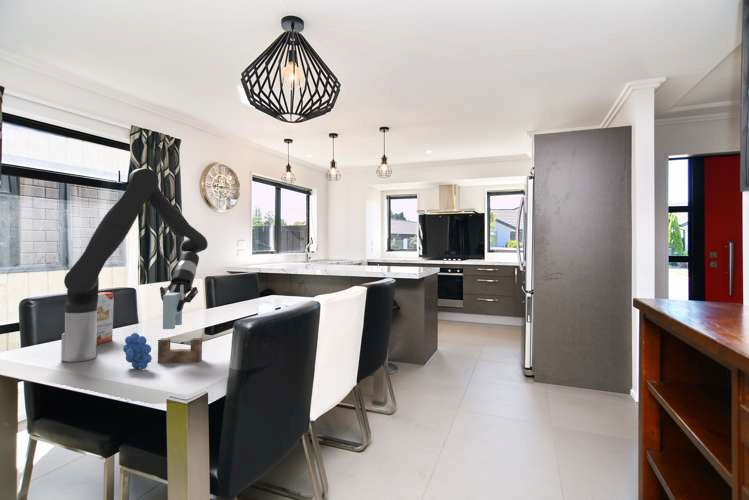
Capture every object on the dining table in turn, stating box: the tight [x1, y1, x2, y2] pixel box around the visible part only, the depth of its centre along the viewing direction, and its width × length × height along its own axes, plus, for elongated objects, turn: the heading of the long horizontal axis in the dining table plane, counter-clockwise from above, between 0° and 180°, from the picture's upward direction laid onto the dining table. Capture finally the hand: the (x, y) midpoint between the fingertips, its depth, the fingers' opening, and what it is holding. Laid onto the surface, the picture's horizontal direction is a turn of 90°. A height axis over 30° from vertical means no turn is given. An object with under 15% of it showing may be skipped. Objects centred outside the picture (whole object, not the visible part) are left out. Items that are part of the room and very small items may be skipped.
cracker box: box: [96, 291, 115, 345], centre depth 160 cm, size 14×6×21 cm, turn 168°
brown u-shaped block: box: [157, 337, 203, 364], centre depth 139 cm, size 14×3×8 cm, turn 97°
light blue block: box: [162, 292, 183, 330], centre depth 140 cm, size 4×8×12 cm, turn 8°
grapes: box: [122, 332, 153, 370], centre depth 128 cm, size 12×7×12 cm, turn 72°
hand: (172, 310), depth 140 cm, fingers closed on light blue block, 3 cm apart
